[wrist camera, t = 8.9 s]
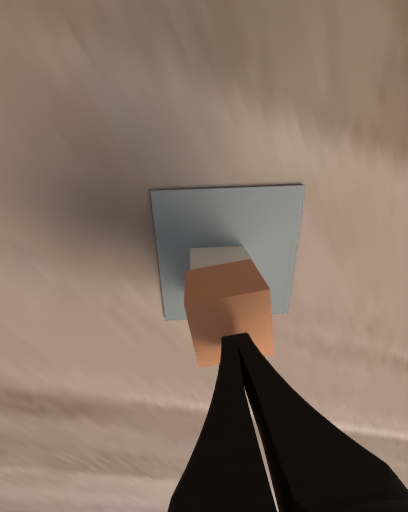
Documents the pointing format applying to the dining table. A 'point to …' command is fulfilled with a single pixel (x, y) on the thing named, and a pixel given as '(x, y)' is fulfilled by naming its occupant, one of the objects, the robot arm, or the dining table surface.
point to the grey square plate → (228, 235)
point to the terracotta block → (227, 308)
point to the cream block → (216, 256)
